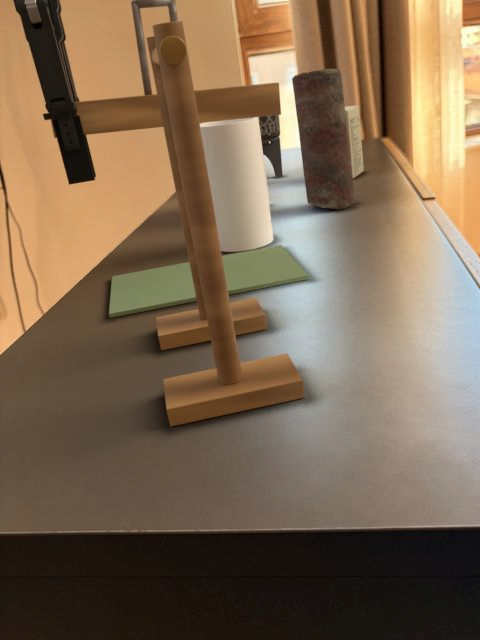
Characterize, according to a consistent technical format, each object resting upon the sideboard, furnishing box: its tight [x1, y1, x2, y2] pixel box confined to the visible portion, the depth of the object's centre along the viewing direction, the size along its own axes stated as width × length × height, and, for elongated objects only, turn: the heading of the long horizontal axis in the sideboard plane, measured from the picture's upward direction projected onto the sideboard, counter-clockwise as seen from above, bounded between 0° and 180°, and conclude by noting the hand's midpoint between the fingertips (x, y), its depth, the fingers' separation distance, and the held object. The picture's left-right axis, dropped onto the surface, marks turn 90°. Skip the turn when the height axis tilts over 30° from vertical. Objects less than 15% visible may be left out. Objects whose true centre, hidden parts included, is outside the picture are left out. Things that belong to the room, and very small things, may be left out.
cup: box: [200, 117, 274, 253], centre depth 85 cm, size 8×8×16 cm
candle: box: [291, 68, 355, 211], centre depth 97 cm, size 8×7×20 cm
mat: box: [108, 244, 310, 319], centre depth 76 cm, size 14×22×1 cm, turn 101°
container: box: [200, 117, 271, 207], centre depth 104 cm, size 14×14×18 cm
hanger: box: [50, 0, 282, 139], centre depth 66 cm, size 2×24×12 cm, turn 101°
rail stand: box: [146, 20, 306, 427], centre depth 50 cm, size 19×10×26 cm, turn 11°
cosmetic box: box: [345, 104, 365, 179], centre depth 119 cm, size 6×4×12 cm
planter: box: [258, 115, 283, 178], centre depth 126 cm, size 13×13×18 cm
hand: (82, 179), depth 69 cm, fingers closed on hanger, 2 cm apart
